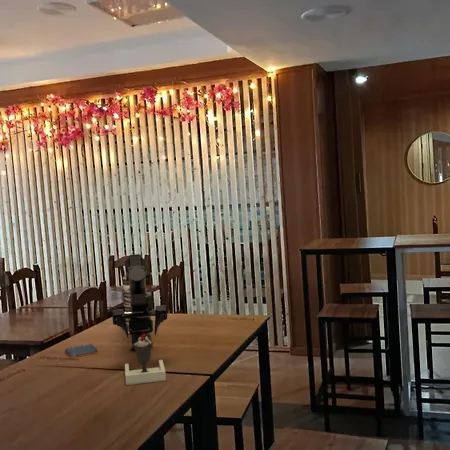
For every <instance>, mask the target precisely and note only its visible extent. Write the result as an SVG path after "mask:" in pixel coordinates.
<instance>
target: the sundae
mask: <svg viewBox="0 0 450 450" xmlns="http://www.w3.org/2000/svg"><path fill="white" fill-rule="evenodd" d="M143 332H144V330H143ZM143 332H142V333H143ZM153 345H154V343H153V341H152V340H151V341H150V340H149V339H148V337H147V336H146V335H145V334H142V336H140V337H139V338H138V341H137V342H136V343H134V344H133V345H132V344H131V347H132V346H133V347H134V348H135V350H134V351H135V355H136V360H137V362H138V364H140V365H142V366H141V367H142V368H141V369H142V372H141V373H145V372H148V371H147V369H148V368H147V364H148V363H149V362H150V360H151V351H152V347H153Z"/></svg>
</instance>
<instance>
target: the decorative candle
mask: <svg viewBox="0 0 450 450" xmlns="http://www.w3.org/2000/svg"><path fill="white" fill-rule="evenodd" d="M122 279H123V284H122V290H121V292H122V297H123V299H122V300H123V306H124V307H125V310H124V313H127V312H130V310H131V301H130V286H129V281H126V273H125V274H124V276H123V277H122ZM128 319H130V318H127V319H125V320H126V325H127V329H128V335H129V322H128Z"/></svg>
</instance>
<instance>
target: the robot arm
mask: <svg viewBox="0 0 450 450" xmlns="http://www.w3.org/2000/svg"><path fill="white" fill-rule="evenodd" d="M124 269H125V274H126V281H129V286H130V301H131V310H130V312H127V313H125V310H124V308H120V309H113V310H112V311H111V319H112V325H114V326H117V327H120V329H121V330H122V331H123V333H124V334H125V336H126V338H127V339H129V337H130V336H131V348H130V351H135V348H134V347H133V346H132V345H133V344H134V343H136V342H137V341H138V338H139V337H140V336H142V334H145V335H146V336H147V337H148V339H149V340H150V341H151V342H152V335H150V334H152V332H154V335H155V336H157V334H158V331H159V327H160V325H161V323H164V321H166V320H168V306H167V305H165V304H162V305H161V304H160V305H155V309H152V310H149V303H152V302H153V296H152V291H147V289H146V288H147V287H146V285H147V284H146V281H147V280H149V278H150V273H149V272H148V270H147V262H146V259H145V258H144V257H142V254H139V253H134V254H129V255H128V258H127V259H126V260H125V261H124ZM152 317H154V321H153V319H152ZM127 318H130V319H128V322H129V334H128V329H127V325H126V320H125V319H127ZM143 330H144V332H143ZM142 332H143V333H142Z"/></svg>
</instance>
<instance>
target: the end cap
mask: <svg viewBox="0 0 450 450" xmlns="http://www.w3.org/2000/svg"><path fill="white" fill-rule="evenodd" d="M158 364H159V365H158V367H151V368H150V367H149V368H146V369H147V371H148V372H145V373H141V372H142V368H141V369H132V370H130V367H129V366H130V365H129V363H124V374H125V385H126V386H131V385H132V386H133V385H141V384H148V383H157V382H165V381H167V376H166V368H165V364H164V362H163V359H159V360H158Z"/></svg>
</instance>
